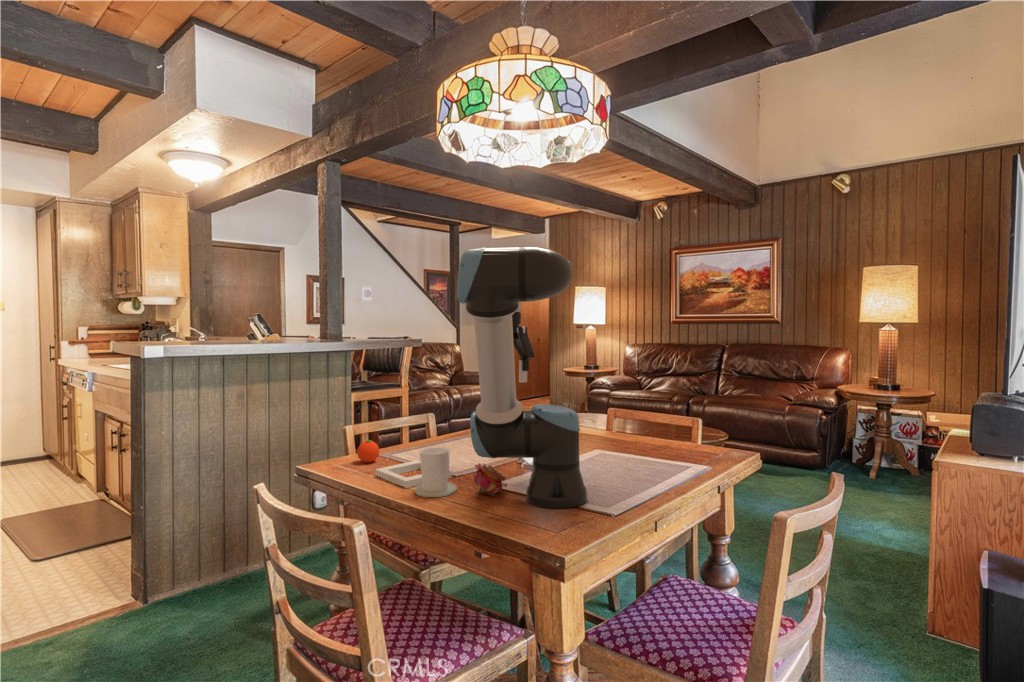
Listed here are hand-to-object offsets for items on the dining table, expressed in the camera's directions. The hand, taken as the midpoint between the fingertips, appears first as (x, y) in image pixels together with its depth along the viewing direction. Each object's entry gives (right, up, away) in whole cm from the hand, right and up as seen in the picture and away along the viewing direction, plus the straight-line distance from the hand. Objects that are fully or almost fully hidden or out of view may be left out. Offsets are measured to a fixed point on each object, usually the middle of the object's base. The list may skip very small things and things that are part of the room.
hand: (507, 381), depth 167 cm
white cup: (-19, -27, -20) cm, 39 cm away
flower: (-4, -28, -23) cm, 36 cm away
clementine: (-45, -27, +12) cm, 54 cm away
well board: (-27, -27, -6) cm, 39 cm away
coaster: (-19, -28, -20) cm, 39 cm away
